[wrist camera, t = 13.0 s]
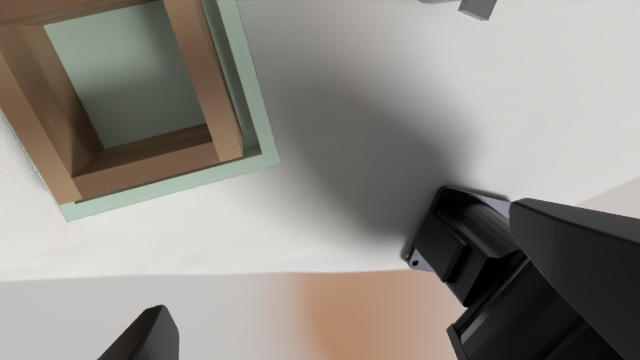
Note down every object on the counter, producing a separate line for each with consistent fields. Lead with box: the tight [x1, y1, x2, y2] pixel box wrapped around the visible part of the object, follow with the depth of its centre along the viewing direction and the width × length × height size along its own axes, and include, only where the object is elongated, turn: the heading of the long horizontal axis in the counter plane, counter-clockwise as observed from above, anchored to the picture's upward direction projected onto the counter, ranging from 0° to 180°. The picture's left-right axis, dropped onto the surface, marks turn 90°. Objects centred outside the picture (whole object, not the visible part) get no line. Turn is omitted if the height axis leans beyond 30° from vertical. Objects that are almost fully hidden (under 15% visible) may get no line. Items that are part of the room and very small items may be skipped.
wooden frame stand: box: [0, 0, 243, 205], centre depth 15 cm, size 12×8×4 cm, turn 12°
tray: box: [0, 0, 281, 222], centre depth 16 cm, size 15×11×2 cm
